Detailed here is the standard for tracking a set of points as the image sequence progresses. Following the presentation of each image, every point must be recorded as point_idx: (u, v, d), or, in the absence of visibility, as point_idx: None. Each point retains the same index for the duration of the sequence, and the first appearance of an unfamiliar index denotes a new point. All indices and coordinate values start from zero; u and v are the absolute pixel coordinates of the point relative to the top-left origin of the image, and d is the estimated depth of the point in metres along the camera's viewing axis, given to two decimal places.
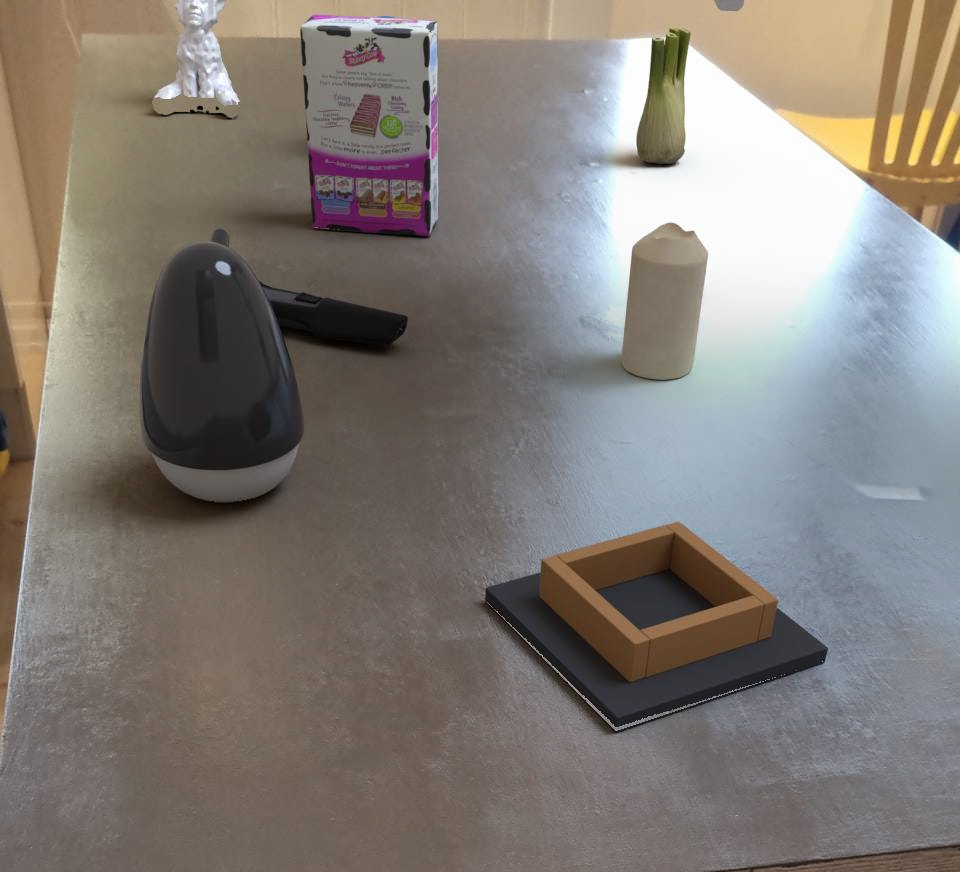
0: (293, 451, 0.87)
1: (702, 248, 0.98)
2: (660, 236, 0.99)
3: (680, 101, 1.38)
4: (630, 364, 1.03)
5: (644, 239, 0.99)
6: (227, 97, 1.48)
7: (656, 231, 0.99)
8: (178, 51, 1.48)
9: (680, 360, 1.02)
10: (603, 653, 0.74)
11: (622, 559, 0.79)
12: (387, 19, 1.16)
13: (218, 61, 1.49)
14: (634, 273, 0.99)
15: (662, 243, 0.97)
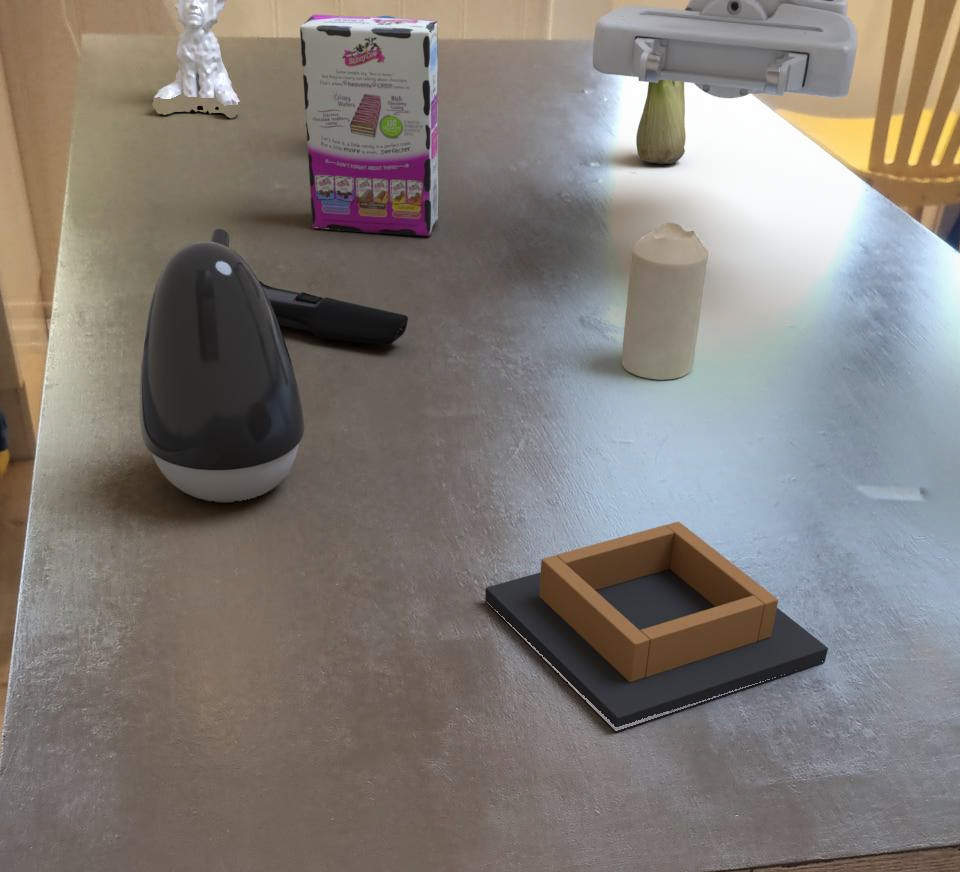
0: (293, 451, 0.87)
1: (702, 248, 0.98)
2: (660, 236, 0.99)
3: (680, 101, 1.38)
4: (630, 364, 1.03)
5: (644, 239, 0.99)
6: (227, 97, 1.48)
7: (656, 231, 0.99)
8: (178, 51, 1.48)
9: (680, 360, 1.02)
10: (603, 653, 0.74)
11: (622, 559, 0.79)
12: (387, 19, 1.16)
13: (218, 61, 1.49)
14: (634, 273, 0.99)
15: (662, 243, 0.97)
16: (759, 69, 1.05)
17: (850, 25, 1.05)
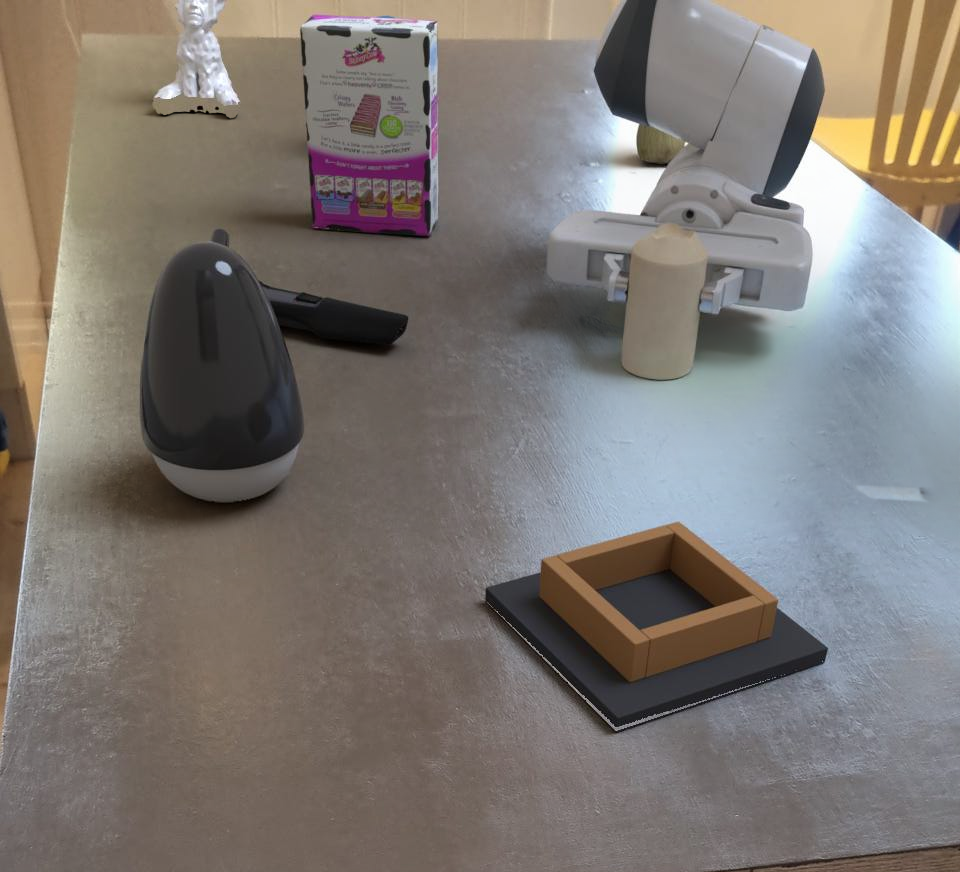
0: (293, 451, 0.87)
1: (702, 248, 0.98)
2: (660, 236, 0.99)
3: None
4: (630, 364, 1.03)
5: (644, 239, 0.99)
6: (227, 97, 1.48)
7: (656, 231, 0.99)
8: (178, 51, 1.48)
9: (680, 360, 1.02)
10: (603, 653, 0.74)
11: (622, 559, 0.79)
12: (387, 19, 1.16)
13: (218, 61, 1.49)
14: (633, 273, 0.99)
15: (662, 243, 0.97)
16: None
17: (805, 237, 1.04)
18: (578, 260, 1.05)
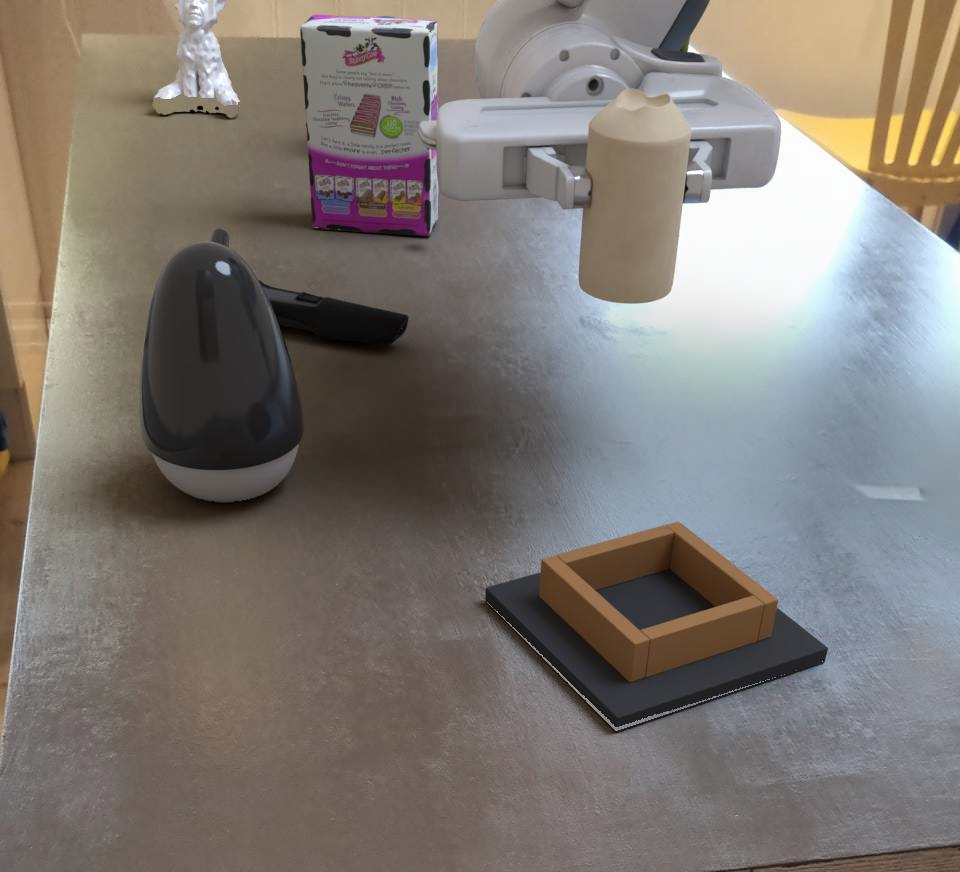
0: (293, 451, 0.87)
1: (682, 116, 0.73)
2: None
3: None
4: (606, 289, 0.77)
5: (609, 115, 0.72)
6: (227, 97, 1.48)
7: (617, 102, 0.73)
8: (178, 51, 1.48)
9: (669, 272, 0.77)
10: (603, 653, 0.74)
11: (622, 559, 0.79)
12: (387, 19, 1.16)
13: (218, 61, 1.49)
14: (605, 164, 0.73)
15: (644, 115, 0.71)
16: None
17: (749, 91, 0.81)
18: (490, 164, 0.77)
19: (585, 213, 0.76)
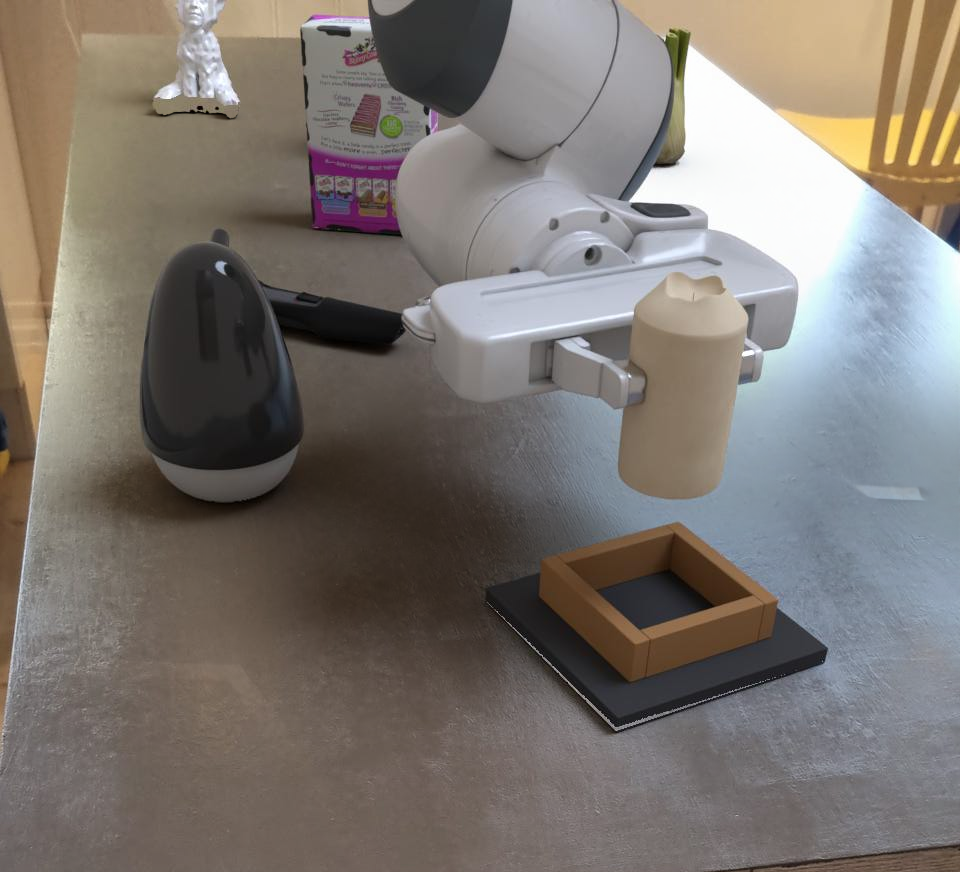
0: (293, 451, 0.87)
1: None
2: (672, 296, 0.65)
3: (680, 101, 1.38)
4: (663, 487, 0.69)
5: (664, 307, 0.64)
6: (227, 97, 1.48)
7: (666, 289, 0.65)
8: (178, 51, 1.48)
9: (724, 459, 0.70)
10: (603, 653, 0.74)
11: (622, 559, 0.79)
12: None
13: (218, 61, 1.49)
14: (666, 360, 0.65)
15: (707, 305, 0.64)
16: None
17: (749, 246, 0.75)
18: (517, 363, 0.68)
19: (634, 409, 0.68)
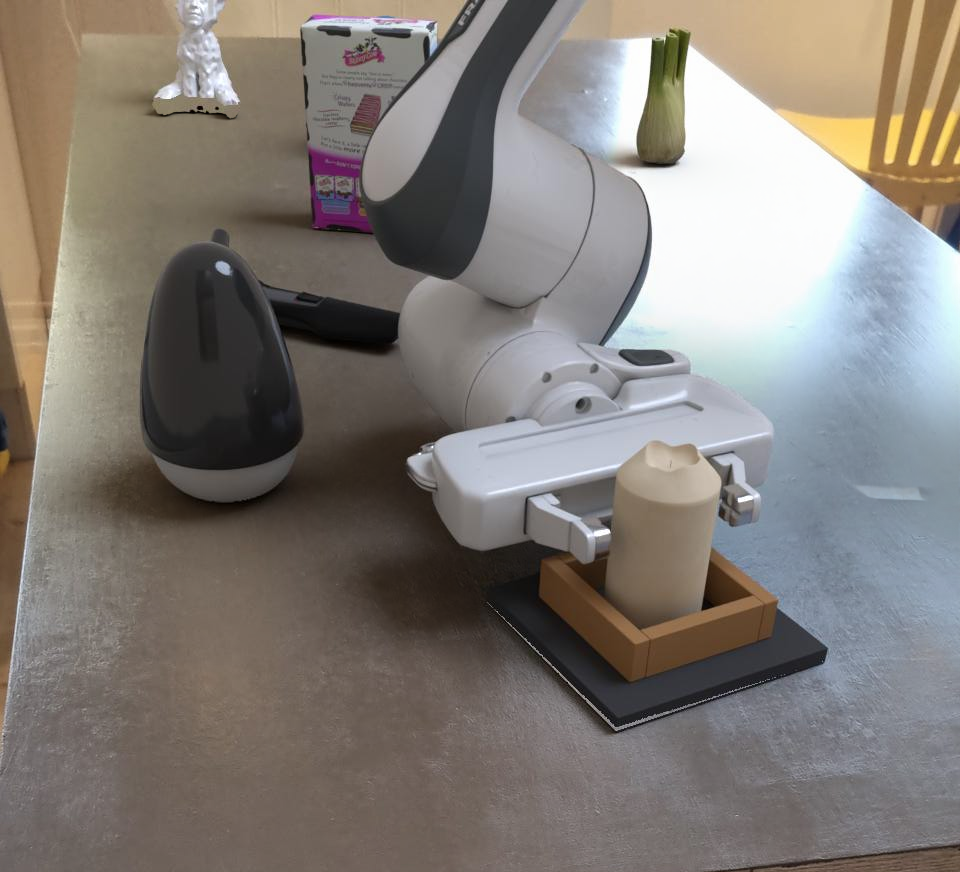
0: (293, 451, 0.87)
1: (708, 462, 0.72)
2: (651, 463, 0.71)
3: (680, 101, 1.38)
4: None
5: (643, 475, 0.70)
6: (227, 97, 1.48)
7: (646, 458, 0.71)
8: (178, 51, 1.48)
9: (701, 603, 0.76)
10: (603, 653, 0.74)
11: None
12: (387, 19, 1.16)
13: (218, 61, 1.49)
14: (645, 523, 0.71)
15: (682, 475, 0.70)
16: None
17: (729, 391, 0.80)
18: (513, 515, 0.73)
19: (617, 562, 0.74)
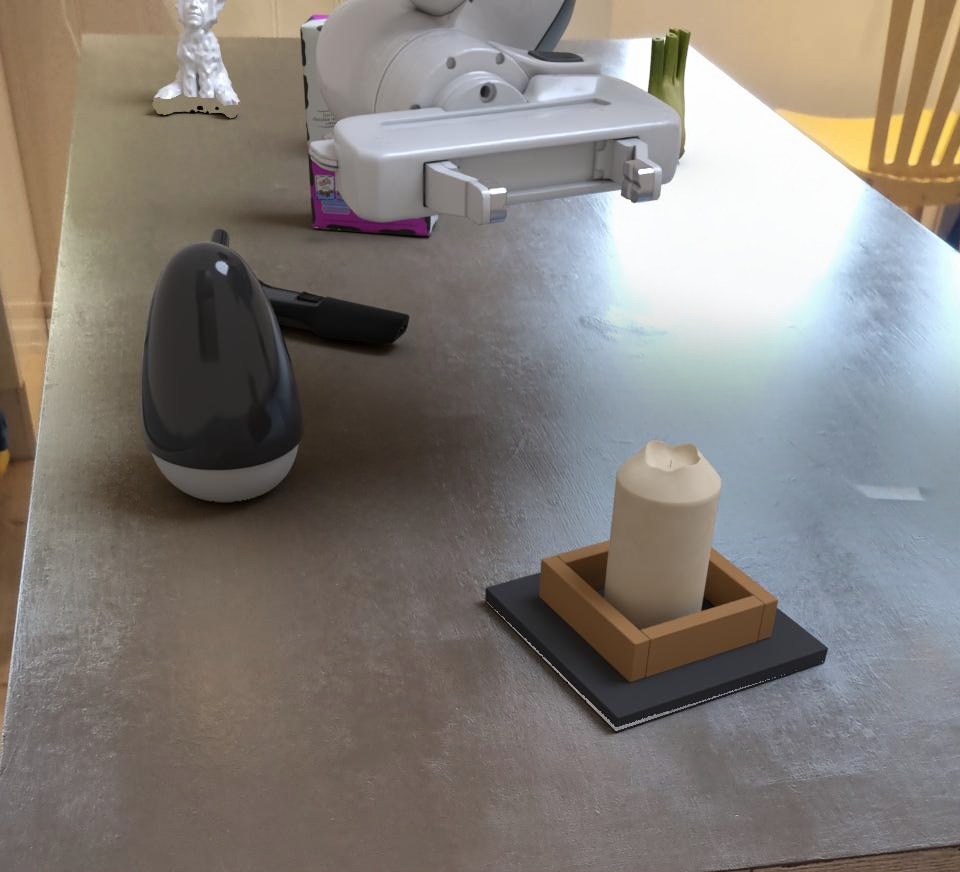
0: (293, 451, 0.87)
1: (708, 462, 0.72)
2: (651, 463, 0.71)
3: (680, 101, 1.38)
4: None
5: (643, 475, 0.70)
6: (227, 97, 1.48)
7: (646, 458, 0.71)
8: (178, 51, 1.48)
9: (701, 603, 0.76)
10: (603, 653, 0.74)
11: None
12: None
13: (218, 61, 1.49)
14: (645, 522, 0.71)
15: (682, 475, 0.70)
16: (574, 169, 0.77)
17: (637, 88, 0.80)
18: (411, 182, 0.73)
19: (617, 562, 0.74)
